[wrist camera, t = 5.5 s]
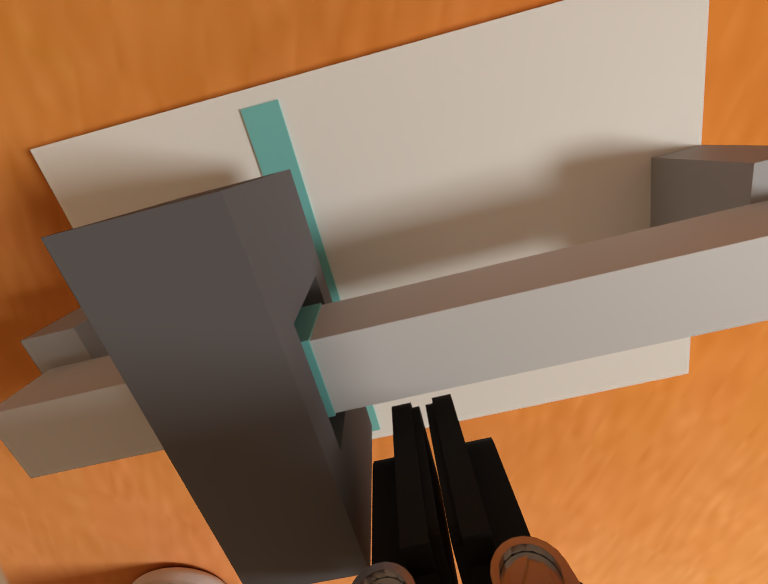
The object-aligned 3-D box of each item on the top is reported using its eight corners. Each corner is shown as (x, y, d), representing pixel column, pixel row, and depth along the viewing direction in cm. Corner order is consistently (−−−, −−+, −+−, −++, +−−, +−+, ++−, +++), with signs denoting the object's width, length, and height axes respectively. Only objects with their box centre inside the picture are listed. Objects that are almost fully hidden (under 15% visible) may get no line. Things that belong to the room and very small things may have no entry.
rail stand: (49, 149, 13) (-242, 155, 7) (689, -30, 11) (1044, -223, 5) (214, 459, 18) (130, 623, 12) (674, 362, 16) (849, 492, 10)
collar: (187, 196, 11) (40, 238, 6) (290, 168, 10) (221, 190, 6) (291, 442, 14) (249, 594, 9) (372, 426, 14) (369, 573, 9)
